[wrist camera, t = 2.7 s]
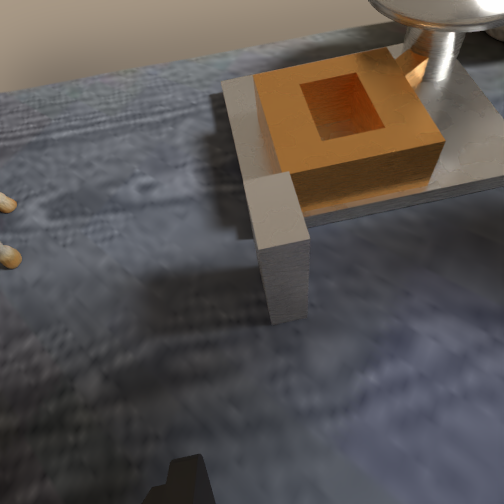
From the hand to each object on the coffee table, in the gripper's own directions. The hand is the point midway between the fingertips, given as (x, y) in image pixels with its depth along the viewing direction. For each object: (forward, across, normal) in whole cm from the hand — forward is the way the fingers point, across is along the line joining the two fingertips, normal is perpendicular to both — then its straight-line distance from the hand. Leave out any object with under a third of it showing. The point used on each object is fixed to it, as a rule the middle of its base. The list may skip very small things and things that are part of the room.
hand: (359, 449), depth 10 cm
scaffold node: (+29, -12, -9) cm, 33 cm away
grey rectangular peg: (+18, 0, +2) cm, 19 cm away
